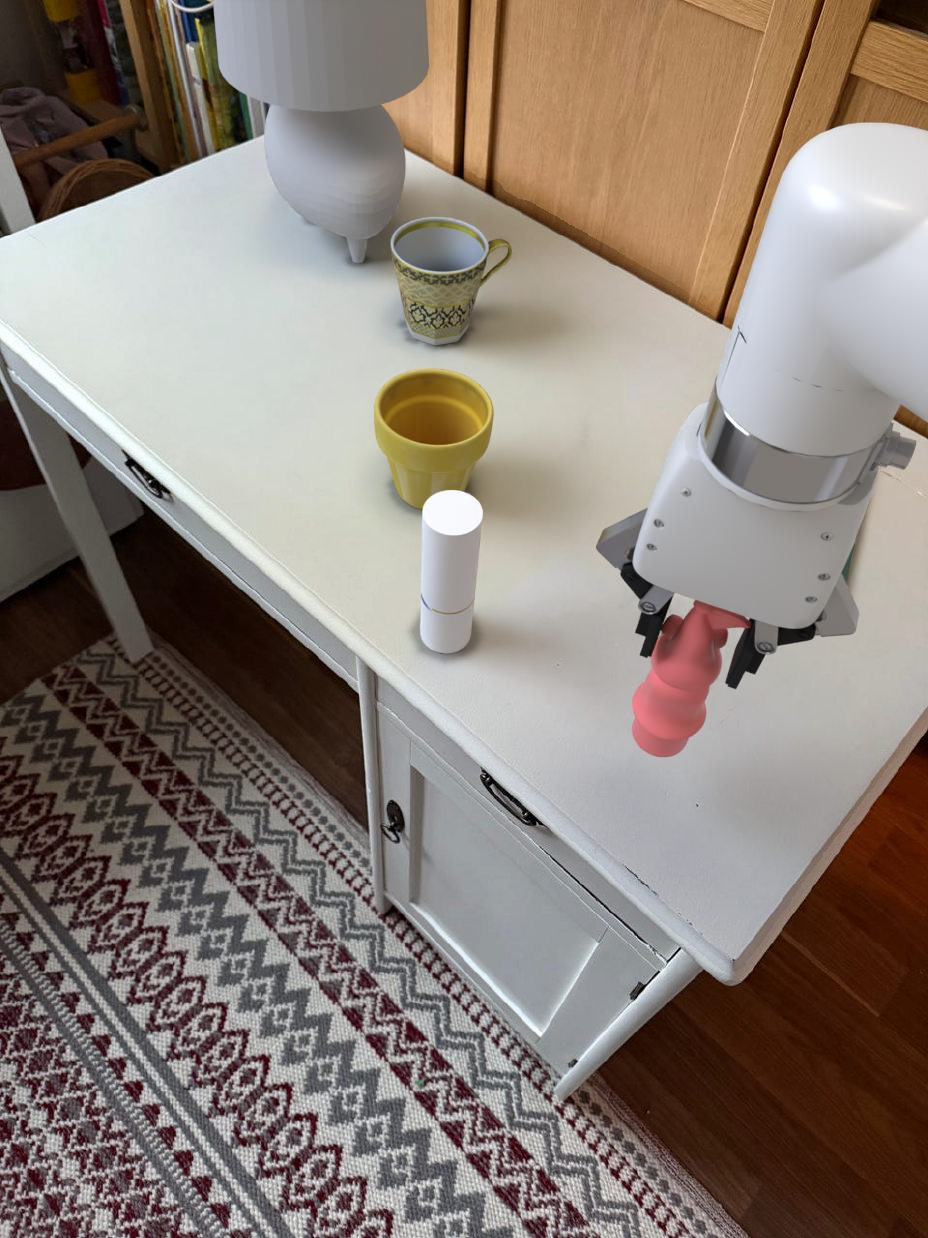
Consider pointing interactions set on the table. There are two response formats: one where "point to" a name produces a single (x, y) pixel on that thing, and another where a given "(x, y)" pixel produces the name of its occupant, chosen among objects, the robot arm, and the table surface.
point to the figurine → (681, 678)
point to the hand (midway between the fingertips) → (693, 652)
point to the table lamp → (329, 100)
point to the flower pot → (432, 431)
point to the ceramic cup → (441, 275)
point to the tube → (449, 569)
